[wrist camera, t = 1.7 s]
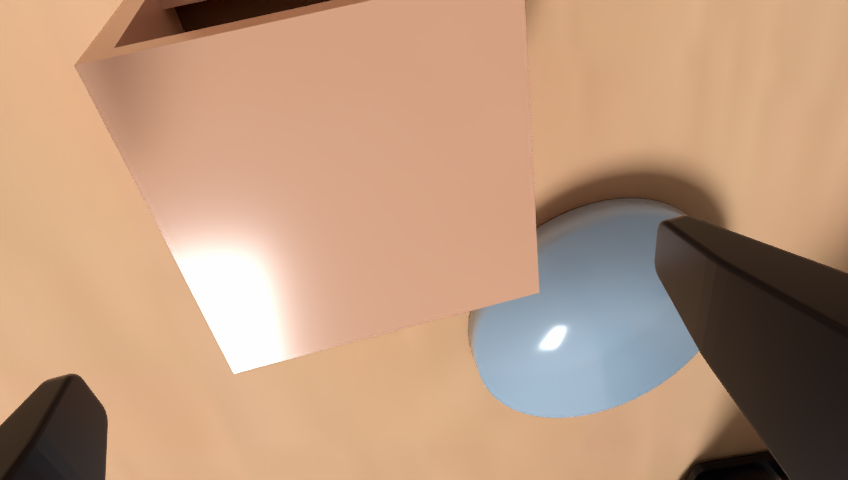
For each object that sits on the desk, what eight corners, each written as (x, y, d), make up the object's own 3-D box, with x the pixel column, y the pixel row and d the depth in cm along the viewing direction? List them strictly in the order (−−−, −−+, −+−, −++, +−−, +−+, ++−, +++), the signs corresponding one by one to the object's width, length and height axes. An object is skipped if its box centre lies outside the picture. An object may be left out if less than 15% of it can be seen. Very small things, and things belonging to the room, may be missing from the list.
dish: (749, 191, 22) (771, 209, 21) (667, 381, 28) (681, 402, 27) (486, 205, 20) (496, 225, 19) (455, 408, 25) (462, 431, 24)
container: (438, -85, 15) (523, -34, 10) (470, 170, 19) (539, 292, 14) (140, -22, 14) (74, 64, 9) (242, 226, 18) (234, 373, 14)
